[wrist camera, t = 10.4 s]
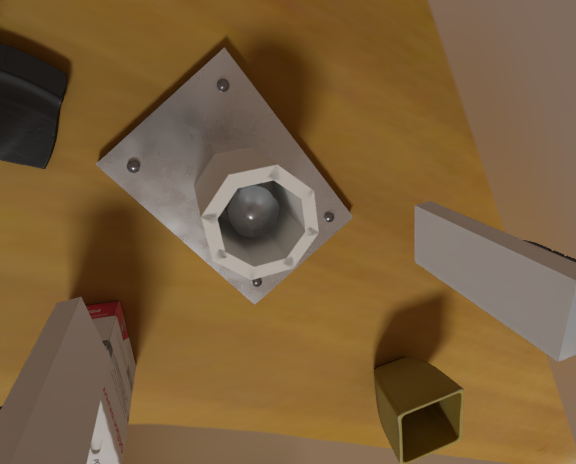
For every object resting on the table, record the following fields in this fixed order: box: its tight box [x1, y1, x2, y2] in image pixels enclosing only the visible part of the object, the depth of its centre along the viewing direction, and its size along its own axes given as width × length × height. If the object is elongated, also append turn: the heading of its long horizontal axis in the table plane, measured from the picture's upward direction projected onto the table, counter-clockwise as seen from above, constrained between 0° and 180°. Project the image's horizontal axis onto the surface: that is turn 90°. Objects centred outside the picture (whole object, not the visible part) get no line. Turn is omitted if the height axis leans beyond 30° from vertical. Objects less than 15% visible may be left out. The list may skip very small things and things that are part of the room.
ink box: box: [86, 301, 136, 464], centre depth 30 cm, size 9×5×12 cm, turn 2°
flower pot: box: [374, 357, 464, 464], centre depth 45 cm, size 9×9×9 cm
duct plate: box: [96, 47, 353, 305], centre depth 31 cm, size 20×14×7 cm
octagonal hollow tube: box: [194, 147, 319, 280], centre depth 29 cm, size 8×8×9 cm
